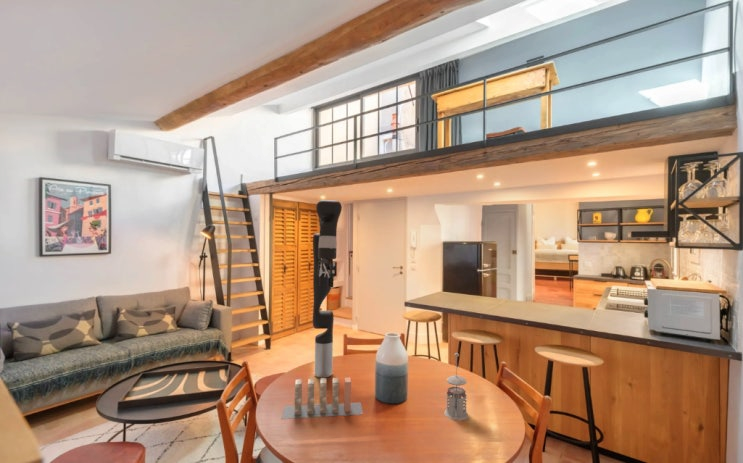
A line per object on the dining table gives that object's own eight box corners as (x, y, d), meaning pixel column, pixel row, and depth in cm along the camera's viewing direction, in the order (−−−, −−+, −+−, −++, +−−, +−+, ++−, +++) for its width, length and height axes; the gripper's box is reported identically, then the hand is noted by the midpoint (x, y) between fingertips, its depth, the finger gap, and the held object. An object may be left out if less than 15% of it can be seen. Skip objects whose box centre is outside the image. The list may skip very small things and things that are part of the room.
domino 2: (307, 414, 138) (307, 383, 138) (307, 408, 142) (308, 379, 143) (313, 413, 138) (313, 383, 138) (313, 407, 143) (314, 378, 143)
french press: (468, 410, 144) (469, 350, 145) (468, 424, 133) (469, 359, 134) (444, 406, 147) (445, 348, 148) (443, 420, 136) (443, 357, 136)
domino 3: (319, 413, 138) (320, 383, 139) (320, 407, 143) (320, 378, 143) (325, 413, 139) (326, 383, 139) (325, 407, 143) (326, 378, 144)
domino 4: (332, 412, 139) (332, 382, 139) (332, 406, 144) (332, 378, 144) (338, 412, 139) (338, 382, 140) (337, 406, 144) (338, 377, 144)
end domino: (344, 411, 140) (345, 382, 140) (344, 406, 144) (344, 377, 145) (350, 411, 140) (351, 381, 140) (349, 405, 145) (350, 377, 145)
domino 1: (294, 414, 137) (295, 384, 137) (295, 408, 142) (296, 379, 142) (300, 414, 137) (301, 384, 138) (301, 408, 142) (301, 379, 142)
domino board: (284, 408, 144) (284, 406, 144) (360, 404, 148) (360, 402, 148) (281, 421, 134) (281, 418, 134) (363, 416, 138) (363, 414, 138)
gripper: (312, 247, 147) (311, 285, 146) (326, 246, 135) (324, 287, 134) (328, 248, 151) (327, 285, 150) (343, 247, 139) (341, 287, 138)
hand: (326, 286), depth 142 cm, fingers open, 8 cm apart
